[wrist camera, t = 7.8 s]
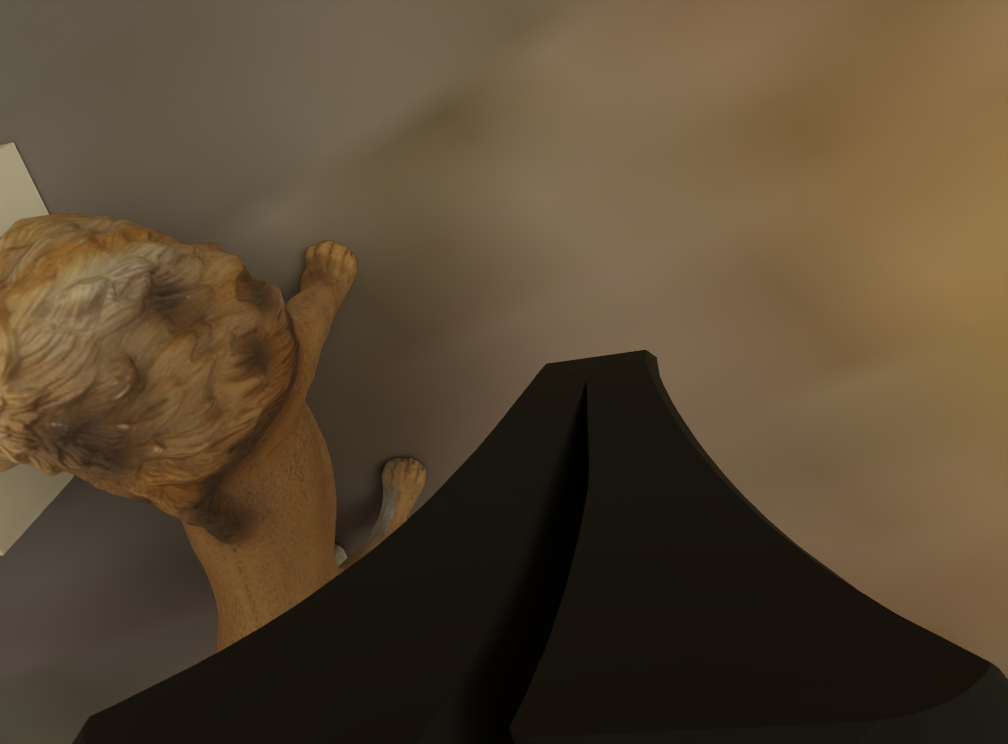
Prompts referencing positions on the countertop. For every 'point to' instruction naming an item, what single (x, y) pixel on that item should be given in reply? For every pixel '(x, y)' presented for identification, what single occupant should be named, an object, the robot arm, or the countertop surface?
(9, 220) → the book row
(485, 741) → the robot arm
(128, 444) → the lion figurine
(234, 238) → the countertop surface
